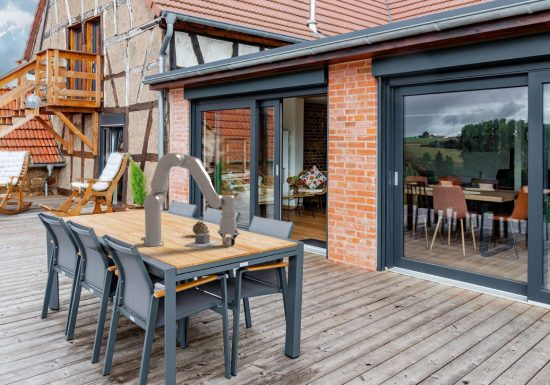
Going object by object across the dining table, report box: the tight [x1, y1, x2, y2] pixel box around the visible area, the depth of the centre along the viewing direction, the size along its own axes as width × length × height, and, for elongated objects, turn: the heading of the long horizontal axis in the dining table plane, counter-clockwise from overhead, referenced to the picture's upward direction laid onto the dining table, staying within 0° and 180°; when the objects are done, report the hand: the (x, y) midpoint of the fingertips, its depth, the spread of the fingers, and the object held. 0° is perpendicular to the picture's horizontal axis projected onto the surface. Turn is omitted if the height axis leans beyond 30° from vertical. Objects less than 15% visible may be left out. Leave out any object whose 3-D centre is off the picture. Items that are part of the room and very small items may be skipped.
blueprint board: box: [184, 239, 220, 249], centre depth 300 cm, size 14×18×1 cm
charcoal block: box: [194, 233, 211, 244], centre depth 300 cm, size 6×6×5 cm
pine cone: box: [191, 221, 210, 235], centre depth 326 cm, size 22×10×10 cm, turn 37°
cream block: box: [222, 235, 234, 247], centre depth 298 cm, size 5×5×5 cm
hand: (228, 244), depth 298 cm, fingers closed on cream block, 5 cm apart
